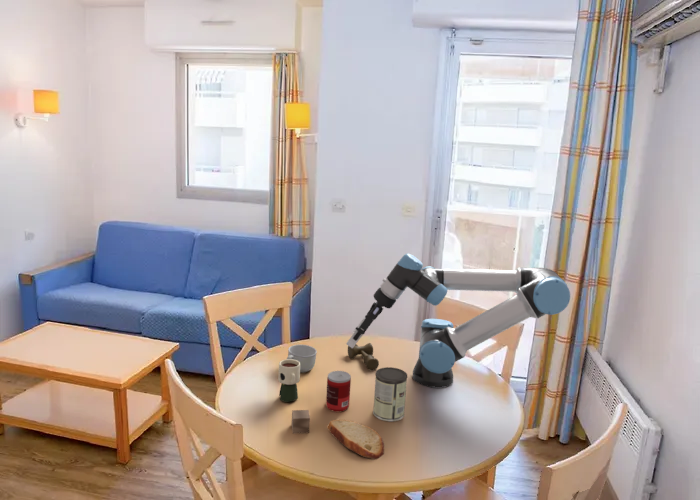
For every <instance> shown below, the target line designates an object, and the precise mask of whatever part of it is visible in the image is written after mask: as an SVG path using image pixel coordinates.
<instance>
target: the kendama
mask: <svg viewBox="0 0 700 500" xmlns="http://www.w3.org/2000/svg"><path fill="white" fill-rule="evenodd" d="M373 354H374V347H373V344H372V343H371V342H368V343H367V344H365V345H361V346H360V345H358V344H357V343H356V344H355V346H354V347H353V348H351V347H350V346H348V345H347V355H348V357H349V359H350V360H351V359H354V358H355V357H357V356H359V355H361V356H362V358H363V360H362V361H363V364H364V365H366V366H365V367H366V369H367V370H368V371H376V370H378V367H379V366H380V365H379V363H380V362H379V360H378V359H377V358H375V356H373Z"/></svg>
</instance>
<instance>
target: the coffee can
mask: <svg viewBox="0 0 700 500" xmlns="http://www.w3.org/2000/svg"><path fill="white" fill-rule="evenodd" d="M374 374H375V378H374V379H375V381H374V382H375V384H374V398H373V411H372V415H374V417H375V418H377V419H378V420H381V421H383V422H397V421H401V420H402V419H403V418H404V417H405V406H406V404H405V403H406V394H407V393H406V392H407V381H408V373H407V372H406V371H404V370H403V369H401V368H397V367H389V366H387V367H381V368H379V369H378V368H377V369H376V370H375V373H374Z"/></svg>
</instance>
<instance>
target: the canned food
mask: <svg viewBox="0 0 700 500" xmlns="http://www.w3.org/2000/svg"><path fill="white" fill-rule="evenodd" d="M326 378H327V380H326V399H325V403H326V404H325V406H326V407H327V409H328V410H330V411H331V412H336V413H337V412H338V413H339V412H344V411H346V410H347V409H349V406H350V398H351V397H350V396H351V385H352V384H351V382H352V380H351V378H352V376H351V374H350V373H349V372H347V371H344V370H334V371H330V372H329V373H328V374H327V377H326Z"/></svg>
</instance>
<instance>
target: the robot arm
mask: <svg viewBox="0 0 700 500" xmlns="http://www.w3.org/2000/svg"><path fill="white" fill-rule="evenodd" d="M407 288H408V289H410V290H412V291H413V292H414V293H415V294H417V295H418V296H419V297H421V298H422V299H423V300H425V301H426V302H427V303H429V304H431V305H433V306H435V307H436V306H439V305H440V304H441V303H442V302H443V300H444V299H445V298H446V295H447V294H448V291H471V292H473V291H474V292H477V291H478V292H508V293H509V292H510V293H511V292H512V293H513V292H514V293H516V294H514V295H513V296H511V297H509V298H507V299H506V300H504V301H502V302H500V303H499V304H497V305H495V306H493V307H491V308H489V309H488V310H485V311H484V312H481V313H480V314H478V315H476V316H474V317H472V318H471V319H469V320H466V321H465V322H463V323H462V324H460V325H458V326H455V327H454V324H453V322H452V321H449V320H446V319H440V318H426V319H424V320H422V321H421V325H420V328H421V329H420V340H419V349H418V350H419V351H418V352H419V353H418V359H417V360H416V362H415V365H414V367H413V370H412V375H411V376H412V380H413V381H414V382H416V383H417V384H419V385H422V386H424V387H429V388H437V389H438V388H439V389H440V388H446V387H449V386H451V385H452V384H453V382H454V373H453V369H452V368H454V365H455V363H456V362H459V361H460V360H462V359H464V358H465V357H466V353H467V351H469V350H471V349H472V348H475V347H477V346H478V345H480V344H482V343H484V342H486V341H488V340H490V339H491V338H493V337H494V338H495V337H496V336H498V335H499V334H501V333H503V332H504V331H506V330H509V329H511V328H512V327H514V326H516V325H518V324H520V323H522V322H524V321H525V320H527V319H529V318H534V319H537V320H538V319H539V318H541V317H543V316H545V315H548V316H550V315H551V316H552V315H556V314H557V315H558V314H559V313H562V312H563V311H565V310H566V308H567V307H568V306H569V303H570V300H571V291H570V288H569V287H568V285H567V283H566V281H564V279H562V278H561V277H560V275H559V274H558V273H557V272H556V271H554V270H552V269H550V268H546V267H517V268H516V269H515V270H510V269H507V270H506V269H460V268H459V269H458V268H457V269H451V268H435V267H433V266H430V265H429V266H427V265H426V266H425V267H424V263H423V262H422V261H421V260H420V259H418V257H416V256H415V255H413V254H411V253H405V254H403V256H402V257H401V258H400V259H399V260H398V261H397V263H396V264H395V266H394V267H393V268H392V269H391V271H390V272H389V274H388V275H387V277H386V278H383V279H382V283H381V284H380V287H378V288H377V290H376V291H375V292H374V294H373V298H374V300H375V301H376V302H375V301H374V302H373V303H372V305H371V306H370V309H369V310H368V312H367V313H366V315H365V316H364V317H363V318H362V320H361V321H360V322H359V323H358V325H357V326H356V327H355V329H354V330H353V333H352V335H351V336H350V338H349V339H348V340H347V342H346V343H345V344H346V345H347V347H348V346H350V347H351V348H353V347H354V346H355V344H357V343H358V342H359V340H360V339H362V337H363V336H364V335H365V333H366V332H367V330H368V329H369V327H370V326H371V324H373V322H374V321H376V319H377V318H378V316H379V315H380V314H382V312H383V310H384V308H385V309H392V307H393V306H394V305H395V303H396V302H397V300H399V299H400V297H401V296H402V295H403V294H404V292H405V291H406V289H407Z"/></svg>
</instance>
